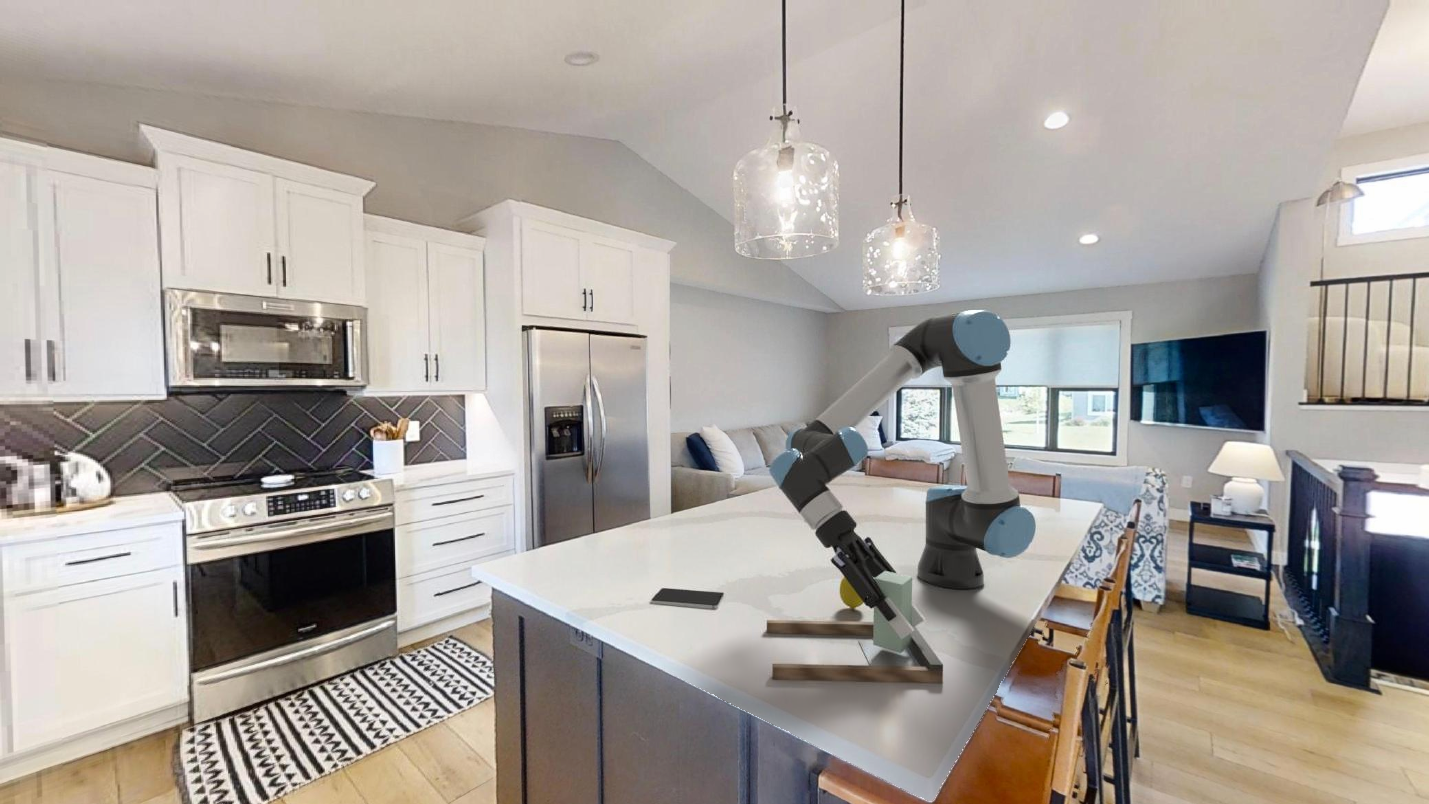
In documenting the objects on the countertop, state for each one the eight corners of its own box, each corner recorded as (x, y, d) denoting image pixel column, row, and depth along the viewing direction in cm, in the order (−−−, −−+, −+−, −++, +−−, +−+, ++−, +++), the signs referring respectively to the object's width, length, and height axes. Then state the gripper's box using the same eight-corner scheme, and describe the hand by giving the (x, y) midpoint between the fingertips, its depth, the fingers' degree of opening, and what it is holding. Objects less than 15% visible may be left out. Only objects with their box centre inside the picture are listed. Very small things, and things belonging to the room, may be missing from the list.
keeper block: (883, 635, 104) (885, 570, 104) (910, 642, 101) (912, 576, 101) (873, 644, 100) (874, 578, 100) (901, 653, 97) (902, 584, 97)
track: (908, 632, 110) (908, 617, 110) (942, 682, 92) (943, 664, 92) (766, 630, 111) (766, 615, 111) (772, 679, 93) (772, 661, 93)
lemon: (851, 616, 117) (851, 578, 117) (834, 607, 122) (834, 570, 122) (871, 611, 120) (872, 574, 120) (853, 602, 125) (854, 566, 125)
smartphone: (661, 587, 132) (724, 592, 129) (661, 592, 132) (724, 597, 129) (650, 600, 124) (717, 605, 121) (650, 605, 124) (717, 611, 121)
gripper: (837, 522, 117) (915, 622, 107) (792, 542, 103) (878, 659, 93) (861, 500, 113) (945, 601, 104) (819, 517, 99) (911, 636, 90)
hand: (913, 628), depth 98 cm, fingers closed on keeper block, 5 cm apart
